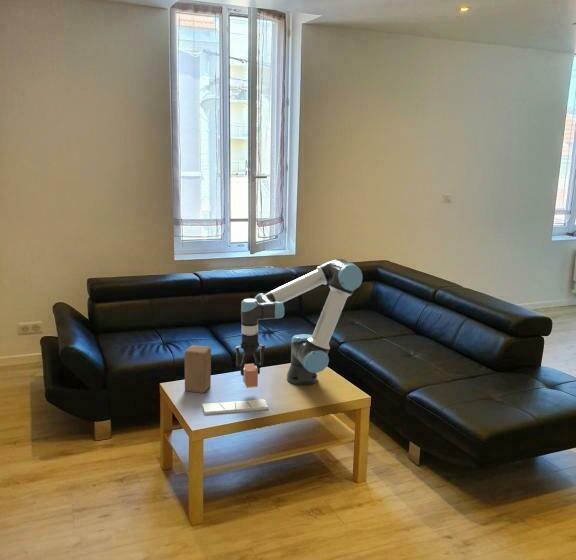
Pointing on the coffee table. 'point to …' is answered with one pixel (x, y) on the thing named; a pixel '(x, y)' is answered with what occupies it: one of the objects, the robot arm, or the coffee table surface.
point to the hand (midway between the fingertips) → (250, 380)
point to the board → (235, 406)
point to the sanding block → (251, 375)
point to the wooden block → (197, 368)
